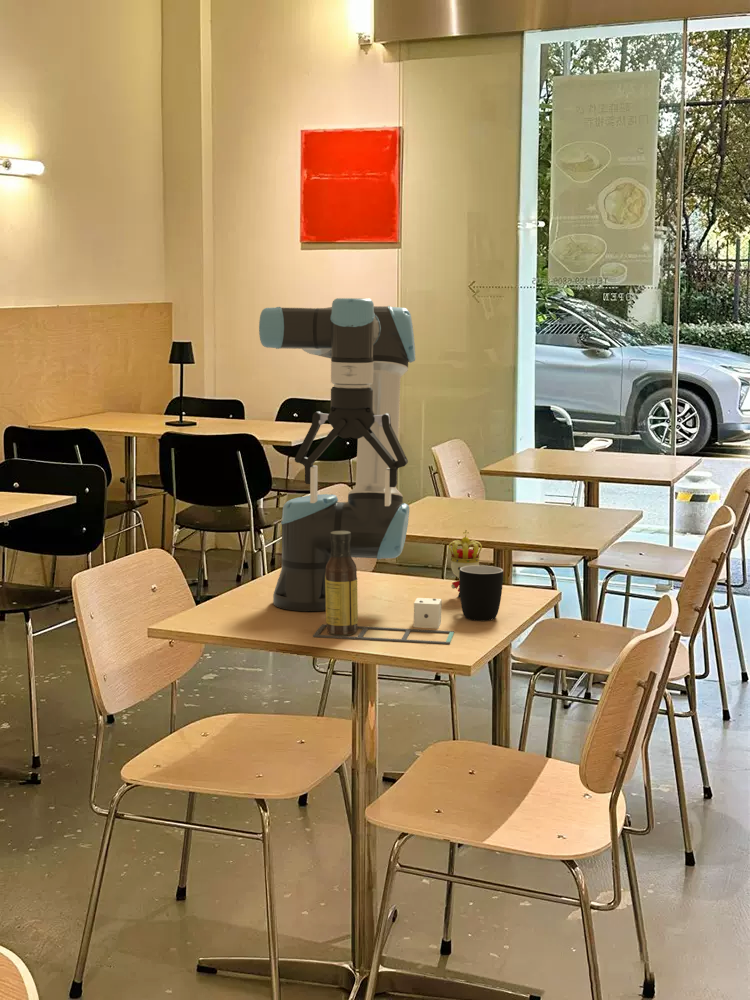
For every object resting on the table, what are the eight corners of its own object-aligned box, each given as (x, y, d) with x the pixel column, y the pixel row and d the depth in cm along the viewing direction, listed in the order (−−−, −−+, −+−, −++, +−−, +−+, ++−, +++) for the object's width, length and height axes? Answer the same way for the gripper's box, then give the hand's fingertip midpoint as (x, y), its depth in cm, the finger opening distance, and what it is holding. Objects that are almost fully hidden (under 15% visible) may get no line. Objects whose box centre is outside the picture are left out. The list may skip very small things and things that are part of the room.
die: (416, 621, 257) (417, 596, 256) (441, 623, 256) (441, 597, 255) (413, 628, 251) (413, 602, 251) (438, 629, 251) (438, 603, 250)
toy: (453, 600, 276) (455, 533, 274) (443, 593, 283) (445, 527, 281) (484, 599, 278) (486, 532, 276) (474, 592, 285) (476, 527, 283)
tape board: (322, 625, 252) (322, 624, 251) (454, 632, 248) (454, 631, 248) (312, 636, 242) (312, 635, 242) (449, 644, 238) (449, 642, 238)
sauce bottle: (347, 627, 251) (348, 528, 248) (363, 634, 245) (365, 532, 243) (318, 631, 247) (319, 530, 244) (334, 638, 242) (336, 535, 239)
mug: (510, 620, 259) (512, 571, 258) (473, 624, 255) (475, 575, 253) (478, 608, 269) (479, 561, 268) (442, 612, 265) (443, 564, 264)
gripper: (278, 385, 223) (278, 504, 227) (418, 389, 219) (416, 509, 223) (288, 382, 231) (288, 497, 234) (424, 386, 227) (421, 502, 230)
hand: (350, 503), depth 229 cm, fingers open, 13 cm apart
